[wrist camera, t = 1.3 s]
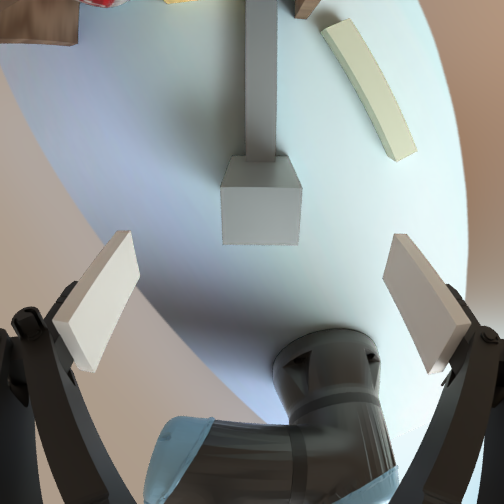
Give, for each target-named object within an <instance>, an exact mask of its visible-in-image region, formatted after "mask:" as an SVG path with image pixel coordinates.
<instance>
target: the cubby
mask: <svg viewBox="0 0 504 504" xmlns="http://www.w3.org/2000/svg"><path fill="white" fill-rule="evenodd" d="M320 1H321V0H295V18H297V19H307V18H308V17H309V15H310V14H311V13H312V11H313V10H314V9H315V7H316V6H317V5H318V3H319V2H320ZM79 5H80V2H78V1H75V0H0V44H1V43H24V44H48V45H61V46H72V45H75V44H78V20H79Z"/></svg>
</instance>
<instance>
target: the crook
mask: <svg viewBox="0 0 504 504" xmlns="http://www.w3.org/2000/svg"><path fill="white" fill-rule="evenodd" d="M164 1H165V2H166V3H167V4H172V3H179V2H187V1H196V0H164ZM276 110H277V0H246V37H245V151H246V156H231V159H230V162H229V164H228V167H227V170H226V173H225V175H224V178H223V181H222V184H221V186H220V194H221V218H222V240H223V245H298V241H299V229H300V216H301V203H302V186H301V184H300V181H299V179H298V177H297V174H296V172H295V170H294V168H293V165H292V163H291V161H290V159H289V156H275V155H276Z"/></svg>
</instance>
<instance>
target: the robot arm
mask: <svg viewBox="0 0 504 504" xmlns="http://www.w3.org/2000/svg"><path fill="white" fill-rule="evenodd" d="M139 278H140V272H139V268H138V263H137V259H136V254H135V250H134V245H133V240H132V235H131V230H127V231H117V232H116V233H115V234H114V235H113V237H112V238H111V239H110V240H109V242H108V243H107V244H106V245H105V247H104V248H103V249H102V250H101V252H100V253H99V254H98V256H97V257H96V259H95V260H94V261H93V262H92V264H91V265H90V266H89V268H88V269H87V270H86V272H85V273H84V274H83V276H82V277H81V278H80V280H79V281H74V282H72V283H71V284H70V285H69V286H67V287H66V288H65V289H64V291H63V292H62V294H61V295H60V297H59V298H58V299H57V301H56V303H55V304H54V305H53V306H52V308H51V309H50V311H49V312H48V314H47V315H46V317H45V318H44V320H43V318H42V316H41V314H40V312H39V310H38V308H36V307H26V308H23V309H21V310H20V311H18V312H17V313H16V314H15V315H14V317H13V318H12V321H11V325H12V327H13V328H14V330H15V332H16V334H17V335H18V337H9V335H8V334H7V332H6V330H4V329H2V328H0V504H43V501H42V495H41V489H40V482H39V474H38V465H37V455H36V442H35V421H36V425H37V429H38V432H39V436H40V439H41V442H42V446H43V448H44V452H45V455H46V458H47V461H48V463H49V466H50V469H51V472H52V474H53V477H54V479H55V482H56V484H57V487H58V489H59V492H60V494H61V496H62V499H63V501H64V502H65V504H137V503H136V502H135V500H134V498H133V497H132V495H131V494H130V492H129V490H128V489H127V487H126V485H125V484H124V482H123V480H122V478H121V477H120V475H119V473H118V471H117V470H116V468H115V466H114V464H113V462H112V460H111V458H110V457H109V455H108V453H107V451H106V449H105V447H104V445H103V443H102V441H101V439H100V437H99V435H98V433H97V430H96V428H95V426H94V423H93V422H92V419H91V417H90V414H89V412H88V410H87V407H86V405H85V402H84V400H83V397H82V395H81V392H80V390H79V387H78V384H77V381H76V379H75V376H74V373H73V371H72V370H71V368H70V367H71V365H72V363H73V361H74V362H75V364H76V365H77V367H78V369H79V370H82V371H88V372H92V373H95V371H96V369H97V366H98V364H99V362H100V359H101V357H102V355H103V353H104V350H105V348H106V346H107V344H108V341H109V339H110V337H111V335H112V332H113V331H114V328H115V326H116V324H117V322H118V320H119V318H120V316H121V314H122V312H123V310H124V308H125V305H126V303H127V301H128V299H129V297H130V295H131V293H132V291H133V289H134V287H135V286H136V284H137V282H138V280H139ZM382 279H383V280H384V282H385V284H386V286H387V288H388V290H389V292H390V294H391V296H392V298H393V300H394V302H395V304H396V306H397V308H398V310H399V312H400V314H401V316H402V318H403V320H404V322H405V324H406V326H407V328H408V331H409V333H410V335H411V337H412V339H413V341H414V344H415V346H416V348H417V350H418V352H419V355H420V357H421V359H422V362H423V364H424V366H425V369H426V371H427V373H428V374H434V373H439V372H443V370H444V369H445V367H446V366H447V364H448V363H450V365H451V367H452V369H451V371H450V372H449V374H448V375H447V377H446V378H445V380H444V381H443V382H442V384H441V386H443V385H444V384H445V386H444V389H443V391H442V394H441V397H440V400H439V402H438V405H437V407H436V410H435V412H434V415H433V417H432V420H431V422H430V425H429V427H428V429H427V432H426V434H425V436H424V438H423V440H422V442H421V445H420V447H419V449H418V451H417V453H416V455H415V457H414V459H413V461H412V463H411V465H410V467H409V468H408V470H407V472H406V474H405V476H404V478H403V479H402V481H401V483H400V485H399V478H398V465H396V462H395V459H394V454H393V450H392V446H391V442H390V438H389V434H388V430H387V426H386V423H385V419H384V416H383V412H382V409H381V405H380V401H379V385H380V370H381V361H380V356H379V354H378V351H377V348H376V345H375V343H374V342H373V341H372V339H370V338H369V337H368V336H366V335H365V334H363V333H360V332H357V331H354V330H347V329H331V330H324V331H319V332H315V333H312V334H309V335H306V336H304V337H301V338H299V339H297V340H296V341H294V342H292V343H291V344H289V345H288V346H287V347H285V348H284V349H283V350H282V351H281V352H280V353H279V355H278V356H277V358H276V359H275V362H274V365H273V383H274V387H275V389H276V392H277V394H278V396H279V398H280V400H281V402H282V404H283V407H284V409H285V411H286V413H287V415H288V418H289V425H276V424H256V423H241V422H231V421H222V420H214V418H213V417H210V418H208V419H207V418H195V417H187V416H178V417H175V418H172V419H171V420H169V421H168V422H167V423H166V424H165V426H164V428H163V429H162V431H161V433H160V435H159V437H158V440H157V442H156V445H155V448H154V451H153V453H152V457H151V460H150V463H149V467H148V471H147V475H146V479H145V485H144V492H143V497H144V504H461V502H462V499H463V497H464V494H465V492H466V490H467V486H468V484H469V482H470V479H471V477H472V473H473V471H474V468H475V465H476V462H477V459H478V456H479V452H480V449H481V446H482V443H483V439H484V436H485V439H484V453H483V464H482V473H481V480H480V487H479V494H478V499H477V504H504V339H500V337H499V336H498V334H497V333H496V332H495V331H494V330H493V329H491V328H490V327H487V326H481V325H480V324H479V322H478V321H477V319H476V318H475V316H474V314H473V313H472V312H471V310H470V309H469V307H468V306H467V304H466V303H465V301H464V300H462V297H461V296H460V294H459V293H458V291H457V290H456V289H454V288H453V287H452V286H451V285H449V284H445V283H444V282H443V280H442V279H441V278H440V276H439V275H438V274H437V272H436V271H435V270H434V268H433V267H432V266H431V264H430V263H429V262H428V260H427V259H426V258H425V256H424V255H423V254H422V253H421V251H420V250H419V249H418V247H417V246H416V245H415V244H414V242H413V241H412V240H411V239H410V238H409V236H408V235H407V234H394V236H393V240H392V244H391V248H390V252H389V256H388V260H387V264H386V267H385V271H384V275H383V278H382Z"/></svg>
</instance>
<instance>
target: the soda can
mask: <svg viewBox="0 0 504 504" xmlns="http://www.w3.org/2000/svg"><path fill="white" fill-rule="evenodd" d="M75 1H78V2H81V3H85V4H88V5H91V6H97V7H102V8H110V7H116V6H119V5H122V4H124V3H126V2H128V1H129V0H75Z"/></svg>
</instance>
